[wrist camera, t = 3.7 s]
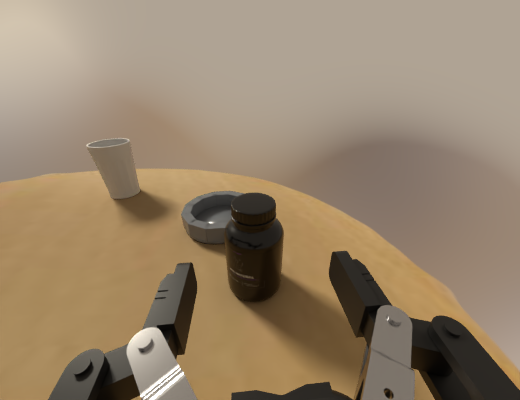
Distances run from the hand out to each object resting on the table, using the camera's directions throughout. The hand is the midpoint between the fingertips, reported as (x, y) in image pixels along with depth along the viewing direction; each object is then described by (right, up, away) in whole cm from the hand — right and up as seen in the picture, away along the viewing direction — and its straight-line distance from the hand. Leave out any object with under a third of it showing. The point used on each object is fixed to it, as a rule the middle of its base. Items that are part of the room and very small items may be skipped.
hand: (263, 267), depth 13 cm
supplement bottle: (-1, -7, +17) cm, 18 cm away
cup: (-32, +5, +41) cm, 52 cm away
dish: (-7, 0, +29) cm, 30 cm away
